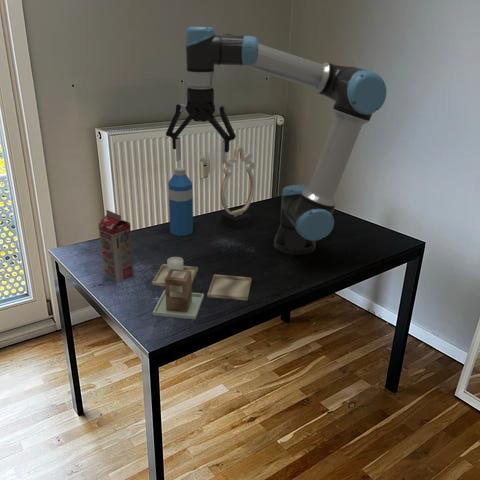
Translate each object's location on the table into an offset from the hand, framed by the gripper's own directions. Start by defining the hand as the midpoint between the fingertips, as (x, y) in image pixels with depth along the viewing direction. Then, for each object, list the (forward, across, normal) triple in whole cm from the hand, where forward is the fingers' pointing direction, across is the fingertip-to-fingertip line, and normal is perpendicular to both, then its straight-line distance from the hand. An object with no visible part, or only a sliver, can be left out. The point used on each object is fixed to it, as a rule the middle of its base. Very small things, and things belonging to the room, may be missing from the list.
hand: (201, 161), depth 142 cm
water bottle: (+37, +14, -30) cm, 50 cm away
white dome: (+36, +7, +7) cm, 37 cm away
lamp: (+37, -6, -42) cm, 56 cm away
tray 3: (+37, -11, +11) cm, 40 cm away
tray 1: (+37, +7, +7) cm, 38 cm away
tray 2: (+37, +2, +23) cm, 43 cm away
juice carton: (+37, +25, +9) cm, 45 cm away
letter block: (+36, +2, +23) cm, 43 cm away
